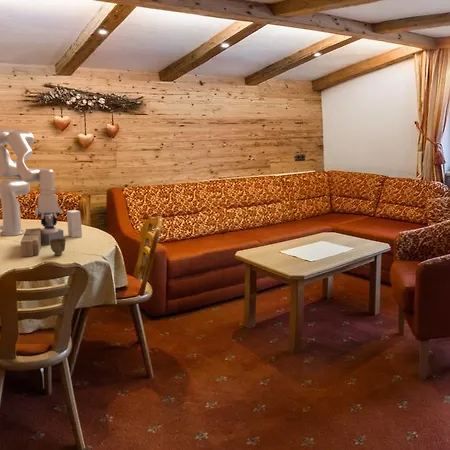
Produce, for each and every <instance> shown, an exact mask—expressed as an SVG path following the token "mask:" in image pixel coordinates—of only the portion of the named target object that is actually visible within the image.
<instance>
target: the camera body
mask: <svg viewBox="0 0 450 450" xmlns="http://www.w3.org/2000/svg"><path fill="white" fill-rule="evenodd" d="M58 238H61V239H62V238H63V239H64V230H63V229H62V228H58V227H55V226H54V228H50V229H46V228H44V227H41V245H45V246H51V245H50V240H52V239H54V240H55V239H56V240H57V239H58Z"/></svg>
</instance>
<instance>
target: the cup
mask: <svg viewBox="0 0 450 450" xmlns="http://www.w3.org/2000/svg"><path fill="white" fill-rule="evenodd" d="M49 246H50V249H51V251H52V252H53V253H54V256H55V257H59V256H62V255H63V252H64V251H65V249H66V238H64V239H63V238H62V239H61V238H58V239H57V240H56V239H55V240H54V239H52V240H50V245H49Z"/></svg>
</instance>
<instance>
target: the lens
mask: <svg viewBox="0 0 450 450" xmlns="http://www.w3.org/2000/svg"><path fill="white" fill-rule="evenodd" d="M43 218H44V222H45V226H43V228H46V229H50V228H54V227H55V225H54V213H45V214H44V217H43Z"/></svg>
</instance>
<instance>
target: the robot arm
mask: <svg viewBox="0 0 450 450" xmlns="http://www.w3.org/2000/svg"><path fill="white" fill-rule="evenodd" d="M34 143H35V137H34V135H33V133H32V132H30V131H28V130H23V129H15V128H14V129H13V128H12V129H9V128H8V129H7V128H5V129H4V128H3V129H1V128H0V177H1V178H4V179H5V180H2V181H0V203H1V213H2V225H0V230H1V231H0V235H1V236H7V237H9V236H11V237H12V236H14V237H15V236H20V235H24V233H25V231H24V230H23V229H22V225H21V205H20V202H19V200H18V198H17V197H16V196H24V195H28V194H29V193H30V191H31V184H30V183H39V194H38V196H37V197H38V198H37V207H36V209H35V210H34V212H33V213H34V214H35V216H37V217H38V218H40V223H41V224H40V225H42V227H44V226H45V222H44V214H45V213H54V226H57V224H58V217H59V216H60V215H61V214H62V213H63V209H62V208H61V207H60V206H59V203H58V197H57V194H56V193H58V189H56V188H55V171H54V170H53V169H51V168H45V167H33V168H31V167H30V168H28V167H27V166H26V164H25V162H26V161H28V160H29V159H30V158H31V157H32V156H33V149H32V148H31V146H33V145H34ZM4 145H9V146H10V148H11V149H12V151H13V152H14V154H15V156H16V157H17V159H15V160H12V157H11V154H10V151H9V150H8V149H7V148H6V147H5V146H4ZM6 178H8V179H6ZM9 178H14V179H9Z"/></svg>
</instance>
